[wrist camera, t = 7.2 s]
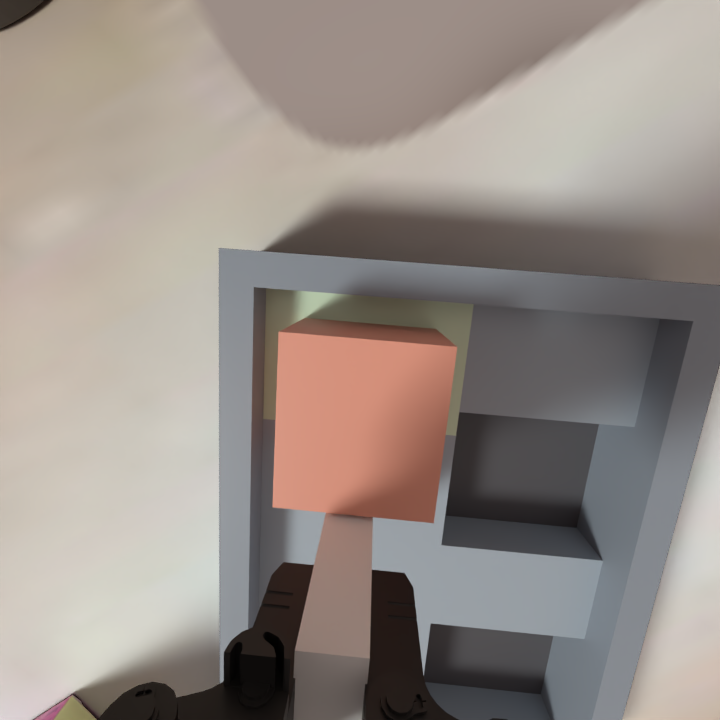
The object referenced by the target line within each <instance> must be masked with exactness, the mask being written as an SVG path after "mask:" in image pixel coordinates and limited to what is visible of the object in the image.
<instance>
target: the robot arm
mask: <svg viewBox="0 0 720 720" xmlns="http://www.w3.org/2000/svg"><path fill="white" fill-rule="evenodd" d="M43 1H44V0H0V29H1V28H3V27H5V26H7V25H9V24H11V23H13V22H15V21H17V20H18V19H20V18H22V17H23V16H25V15H26V14H28V13H29V12H30V11H32V10H33V9H34V8H36V7H37V6H38V5H39V4H40V3H41V2H43ZM372 535H373V517H365V516H355V515H345V514H335V513H326V514H325V518H324V523H323V527H322V532H321V536H320V541H319V545H318V549H317V554H316V558H315V563H314V565H308V564H298V563H288V562H283V563H282V564H281V565H280V566H279V567H278V569H277V570H276V571H275V572H274V573H273V574H272V575H271V578H270V581H269V584H268V586H267V589H266V593H265V595H264V598H263V600H262V603H261V607H260V609H259V611H258V614H257V617H256V620H255V622H254V625H253V627H252V628H250V629H247V630H245V631H242V632H241V633H240V634H238V635H237V636H236V637H235V638H233V639H232V640H231V641H230V643H229V645H228V646H227V648H226V649H225V651H224V681H223V682H222V683H220V684H218V685H217V686H215V687H213V688H211V689H208V690H205V691H202V692H199V693H195V694H190V695H186V696H182V697H178V698H176V695H175V692H174V690H172V689H171V688H170V687H168V686H167V685H166V684H162V683H156V682H151V683H146V684H142V685H138V686H136V687H134V688H132V689H131V690H129V691H127V692H125V693H123V694H122V695H121V696H120V697H119V698H118V699H117V700H116V701H115V702H113V703H112V704H111V705H110V706H109V707H108V708H107V710H106V711H105V712H104V713H103V714H102V715H101V716H100V718H99V719H98V720H459V719H457V718H455V717H453V716H452V715H450V714H448V713H447V712H445V711H444V710H443V709H442V708H441V707H440V706H439V705H438V704H437V703H436V702H435V700H434V699H433V698H432V696H431V695H430V693H429V691H428V689H427V687H426V684H425V680H424V675H423V667H422V658H421V650H420V641H419V632H418V624H417V615H416V607H415V597H414V589H413V586H412V584H411V583H410V581H409V579H408V578H407V576H406V574H405V573H401V572H391V571H381V570H372ZM490 720H507V719H499V718H492V719H490Z"/></svg>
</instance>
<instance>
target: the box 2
mask: <svg viewBox="0 0 720 720" xmlns="http://www.w3.org/2000/svg"><path fill="white" fill-rule="evenodd" d="M304 318H312V319H324V320H336V321H348V322H360V323H372V324H384V325H396V326H408V327H420V328H432V329H437V330H438V331H439V332H440V333H442V334H443V335H444V336H445V337H446V338H447V339H449V340H450V341H451V342H452V343H453V344H454V345H456V346H457V353H456V361H455V368H454V376H453V383H452V391H451V398H450V406H449V413H448V421H447V428H446V436H445V443H444V451H443V458H442V466H441V473H440V481H439V488H438V496H437V503H436V511H435V518H434V523H426V522H416V521H406V520H396V519H386V518H375V517H373V535H372V570H381V571H391V572H401V573H405V574H406V576H407V578H408V579H409V581H410V583H411V584H412V586H413V589H414V597H415V607H416V615H417V624H418V632H419V641H420V650H421V658H422V667H423V675H424V680H425V684H426V687H427V689H428V691H429V693H430V695H431V696H432V698H433V699H434V700H435V702H436V703H437V704H438V705H439V706H440V707H441V708H442V709H443V710H444V711H445V712H447V713H448V714H450V715H452V716H453V717H455V718H457V719H459V720H490V719H492V718H499V719H507V720H622V718H623V714H624V710H625V707H626V703H627V700H628V696H629V692H630V689H631V685H632V681H633V678H634V674H635V670H636V667H637V663H638V660H639V656H640V652H641V649H642V645H643V641H644V638H645V634H646V631H647V627H648V623H649V620H650V616H651V612H652V609H653V605H654V601H655V598H656V594H657V591H658V587H659V583H660V580H661V576H662V572H663V569H664V565H665V561H666V558H667V554H668V551H669V547H670V543H671V540H672V536H673V532H674V529H675V525H676V522H677V518H678V514H679V511H680V507H681V503H682V500H683V496H684V492H685V489H686V485H687V482H688V478H689V474H690V471H691V467H692V463H693V460H694V456H695V453H696V449H697V445H698V442H699V438H700V434H701V431H702V427H703V423H704V420H705V416H706V413H707V409H708V405H709V402H710V398H711V394H712V391H713V387H714V383H715V380H716V376H717V373H718V369H719V365H720V285H709V284H696V283H682V282H669V281H656V280H642V279H629V278H615V277H602V276H588V275H575V274H562V273H548V272H535V271H521V270H508V269H494V268H481V267H467V266H454V265H441V264H427V263H414V262H400V261H387V260H373V259H360V258H346V257H333V256H320V255H306V254H293V253H279V252H266V251H252V250H239V249H225V248H219V583H220V683H222V682H223V681H224V651H225V649H226V648H227V646H228V645H229V643H230V641H231V640H232V639H233V638H235V637H236V636H237V635H238V634H240V633H241V632H242V631H245V630H247V629H250V628H252V627H253V625H254V622H255V620H256V617H257V614H258V611H259V609H260V607H261V603H262V600H263V598H264V595H265V593H266V589H267V586H268V584H269V581H270V578H271V575H272V574H273V573H274V572H275V571H276V570H277V569H278V567H279V566H280V565H281V564H282V563H283V562H288V563H298V564H308V565H314V563H315V558H316V554H317V549H318V545H319V541H320V536H321V532H322V527H323V523H324V518H325V514H326V513H325V512H314V511H304V510H294V509H284V508H274V507H272V505H273V476H274V448H275V419H276V391H277V362H278V333H279V331H281V330H283V329H285V328H287V327H289V326H291V325H292V324H294V323H296V322H298V321H300V320H302V319H304Z"/></svg>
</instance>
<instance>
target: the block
mask: <svg viewBox="0 0 720 720" xmlns="http://www.w3.org/2000/svg"><path fill="white" fill-rule="evenodd" d="M456 353H457V346H456V345H454V344H453V343H452V342H451V341H450V340H449V339H447V338H446V337H445V336H444V335H443V334H442V333H440V332H439V331H438V330H437V329H432V328H420V327H408V326H396V325H384V324H372V323H360V322H348V321H336V320H324V319H312V318H304V319H302V320H300V321H298V322H296V323H294V324H292V325H291V326H289V327H287V328H285V329H283V330H281V331H279V333H278V362H277V391H276V419H275V448H274V476H273V505H272V507H274V508H284V509H294V510H304V511H314V512H325V513H335V514H345V515H355V516H365V517H375V518H386V519H396V520H406V521H416V522H426V523H434V518H435V511H436V503H437V496H438V488H439V481H440V473H441V466H442V458H443V451H444V443H445V436H446V428H447V421H448V413H449V406H450V398H451V391H452V383H453V376H454V368H455V361H456Z"/></svg>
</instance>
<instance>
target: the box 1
mask: <svg viewBox="0 0 720 720" xmlns="http://www.w3.org/2000/svg"><path fill="white" fill-rule="evenodd" d="M34 720H97V719H96V718H95V717H94V716H93V715H92V714H91V713H90V712H89V711H88V710H87V709H86V708H85V707H84V706H83V705H82V702H81V701H80V700H79V699H78V698H76V697H75V696H74V695H71V696H69V697H68V698H66V699H65V700H63V701H62V702H60V703H59V704H57V705H55V706H54V707H52V708H51V709H49V710H48V711H46V712H45V713H43V714H41V715H40V716H38V717H37V718H35V719H34Z"/></svg>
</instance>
